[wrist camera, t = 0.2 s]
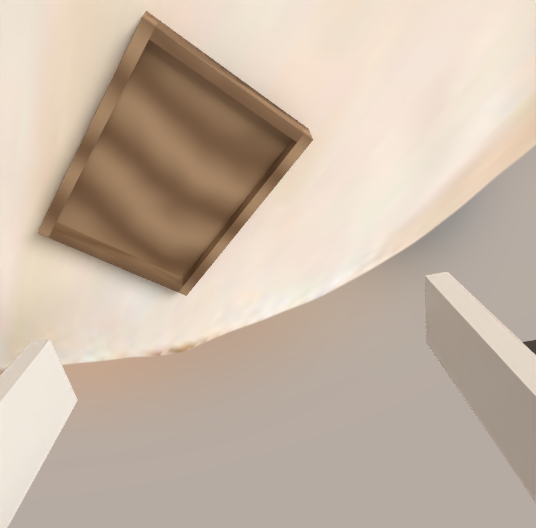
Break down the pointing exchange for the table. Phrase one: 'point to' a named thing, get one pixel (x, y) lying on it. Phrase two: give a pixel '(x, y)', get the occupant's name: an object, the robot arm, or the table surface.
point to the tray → (171, 162)
